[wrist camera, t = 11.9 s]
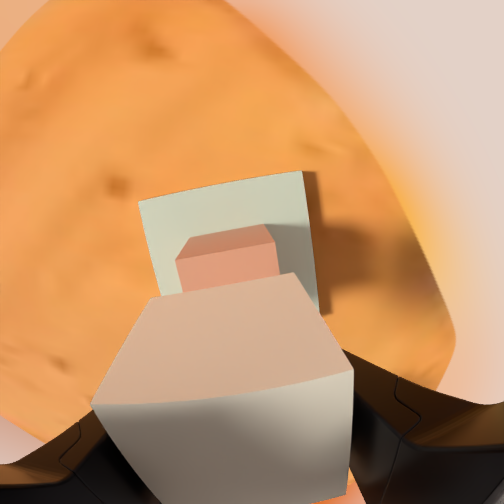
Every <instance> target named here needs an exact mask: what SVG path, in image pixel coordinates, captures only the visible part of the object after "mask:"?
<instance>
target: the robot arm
mask: <svg viewBox="0 0 504 504" xmlns="http://www.w3.org/2000/svg"><path fill="white" fill-rule="evenodd" d="M342 351H343V352H344V354H345V356H346V357H347V359H348V361H349V362H350V364H351V366H352V367H353V369H354V385H353V415H352V434H351V448H350V460H349V467H350V470H351V472H352V474H353V476H354V478H355V481H356V483H357V485H358V487H359V489H360V491H361V493H362V496H363V497H364V500H365V502H366V504H504V402H501V403H497V404H491V405H483V404H477V403H473V402H469V401H466V400H463V399H459V398H456V397H453V396H449V395H446V394H443V393H439V392H437V391H434V390H431V389H428V388H425V387H422V386H420V385H418V384H415V383H413V382H411V381H408V380H406V379H404V378H402V377H398V376H397V375H395V374H393V373H391V372H389V371H387V370H385V369H382V368H380V367H378V366H376V365H374V364H372V363H370V362H368V361H366V360H364V359H362V358H360V357H358V356H356V355H354V354H352V353H349V352H347V351H345V350H343V349H342ZM0 504H162V503H161V502H160V501H159V500H158V498H157V497H156V496H155V495H154V494H153V493H152V492H151V490H150V489H149V488H148V487H147V486H146V484H145V483H144V482H143V481H142V479H141V478H140V477H139V476H138V474H137V473H136V472H135V471H134V469H133V468H132V467H131V465H130V464H129V463H128V461H127V460H126V459H125V457H124V456H123V455H122V453H121V452H120V450H119V449H118V448H117V446H116V445H115V443H114V442H113V440H112V439H111V437H110V436H109V434H108V433H107V431H106V430H105V428H104V427H103V425H102V423H101V422H100V420H99V419H98V417H97V415H96V414H95V412H94V410H92V411H91V412H89V413H88V414H87V415H85V416H84V417H83V418H82V419H80V420H79V422H76V423H75V424H74V425H72V426H71V427H70V428H68V429H67V430H66V431H64V432H63V433H61V434H60V435H59V436H57V437H56V438H54V439H53V440H51V441H49V442H48V443H46V444H45V445H43V446H42V447H40V448H38V449H37V450H35V451H33V452H32V453H30V454H28V455H27V456H25V457H23V458H22V459H20V460H18V461H16V462H13V463H10V464H0Z"/></svg>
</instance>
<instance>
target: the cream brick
mask: <svg viewBox="0 0 504 504" xmlns="http://www.w3.org/2000/svg"><path fill="white" fill-rule="evenodd" d="M353 385H354V369H353V367H352V366H351V364H350V362H349V361H348V359H347V357H346V356H345V354H344V352H343V351H342V349H341V347H340V346H339V344H338V342H337V341H336V339H335V338H334V336H333V334H332V333H331V331H330V329H329V328H328V326H327V324H326V323H325V321H324V320H323V318H322V316H321V315H320V313H319V312H318V310H317V308H316V307H315V305H314V303H313V302H312V300H311V299H310V297H309V295H308V294H307V292H306V291H305V289H304V287H303V286H302V284H301V283H300V281H299V280H298V278H297V276H296V275H295V273H294V272H292V273H287V274H282V275H277V276H272V277H267V278H261V279H256V280H251V281H245V282H240V283H234V284H229V285H223V286H218V287H212V288H207V289H201V290H195V291H189V292H183V293H178V294H172V295H166V296H160V297H154V298H150V300H149V301H148V303H147V305H146V306H145V308H144V310H143V311H142V313H141V315H140V316H139V318H138V320H137V321H136V323H135V325H134V326H133V328H132V330H131V331H130V333H129V335H128V336H127V338H126V340H125V342H124V343H123V345H122V347H121V348H120V350H119V352H118V354H117V355H116V357H115V359H114V361H113V363H112V364H111V366H110V368H109V370H108V371H107V373H106V375H105V377H104V379H103V381H102V382H101V384H100V386H99V388H98V390H97V392H96V393H95V395H94V397H93V399H92V401H91V403H90V405H91V407H92V409H93V410H94V412H95V414H96V415H97V417H98V419H99V420H100V422H101V423H102V425H103V427H104V428H105V430H106V431H107V433H108V434H109V436H110V437H111V439H112V440H113V442H114V443H115V445H116V446H117V448H118V449H119V450H120V452H121V453H122V455H123V456H124V457H125V459H126V460H127V461H128V463H129V464H130V465H131V467H132V468H133V469H134V471H135V472H136V473H137V474H138V476H139V477H140V478H141V479H142V481H143V482H144V483H145V484H146V486H147V487H148V488H149V489H150V490H151V492H152V493H153V494H154V495H155V496H156V497H157V498H158V500H159V501H160V502H161V503H162V504H311V503H315V502H319V501H324V500H327V499H331V498H335V497H339V496H342V495H345V494H346V488H347V480H348V470H349V460H350V448H351V434H352V415H353Z"/></svg>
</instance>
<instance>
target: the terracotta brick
mask: <svg viewBox="0 0 504 504" xmlns="http://www.w3.org/2000/svg"><path fill="white" fill-rule="evenodd" d="M175 263H176V267H177V271H178V275H179V279H180V283H181V287H182V291H183V292H189V291H195V290H201V289H207V288H212V287H218V286H223V285H229V284H234V283H240V282H245V281H251V280H256V279H261V278H267V277H272V276H277V275H280V271H279V264H278V258H277V251H276V245H275V241H274V240H273V238H272V236H271V235H270V233H269V232H268V230H267V228H266V227H265V225H264V224H259V225H253V226H248V227H242V228H237V229H231V230H226V231H221V232H215V233H210V234H205V235H199V236H194V237H190V238H189V239H188V241H187V242H186V244H185V245H184V247H183V248H182V250H181V251H180V253H179V255H178V256H177V258H176V259H175Z"/></svg>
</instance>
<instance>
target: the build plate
mask: <svg viewBox="0 0 504 504" xmlns="http://www.w3.org/2000/svg"><path fill="white" fill-rule="evenodd" d="M138 204H139V209H140V213H141V218H142V222H143V227H144V231H145V235H146V240H147V244H148V248H149V252H150V256H151V260H152V264H153V268H154V271H155V275H156V279H157V282H158V286H159V290H160V293H161V296H166V295H172V294H178V293H183V291H182V287H181V283H180V279H179V275H178V271H177V267H176V263H175V259H176V258H177V256H178V255H179V253H180V251H181V250H182V248H183V247H184V245H185V244H186V242H187V241H188V239H189V238H190V237H194V236H199V235H205V234H210V233H215V232H221V231H226V230H231V229H237V228H242V227H248V226H253V225H259V224H264V225H265V227H266V228H267V230H268V232H269V233H270V235H271V236H272V238H273V240H274V241H275V245H276V251H277V258H278V264H279V271H280V275H282V274H287V273H292V272H294V273H295V275H296V276H297V278H298V280H299V281H300V283H301V284H302V286H303V287H304V289H305V291H306V292H307V294H308V295H309V297H310V299H311V300H312V302H313V303H314V305H315V307H316V308H317V310H318V312H319V302H318V291H317V282H316V272H315V263H314V255H313V246H312V238H311V231H310V223H309V216H308V208H307V201H306V195H305V188H304V181H303V175H302V171H293V172H286V173H280V174H273V175H267V176H261V177H255V178H249V179H243V180H238V181H232V182H227V183H221V184H216V185H211V186H206V187H201V188H196V189H191V190H186V191H182V192H177V193H172V194H168V195H163V196H159V197H155V198H150V199H146V200H142V201H139V202H138Z"/></svg>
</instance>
